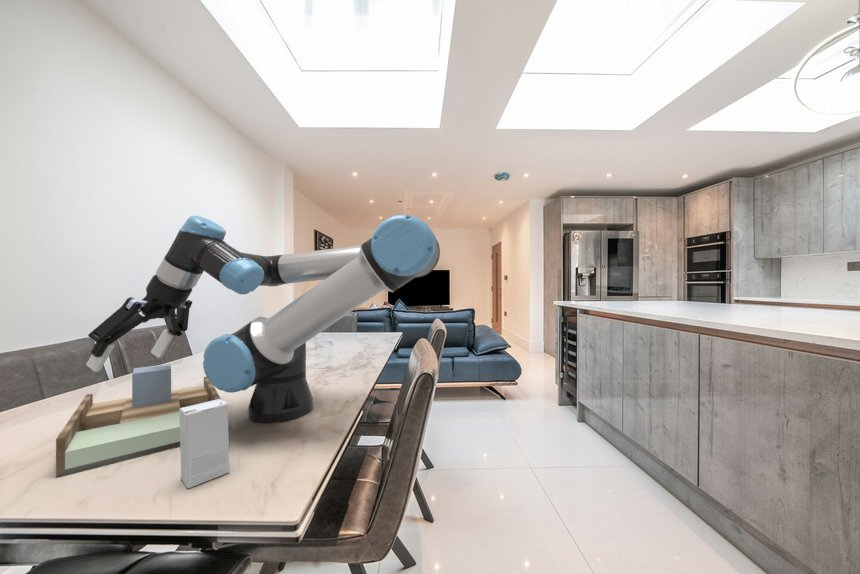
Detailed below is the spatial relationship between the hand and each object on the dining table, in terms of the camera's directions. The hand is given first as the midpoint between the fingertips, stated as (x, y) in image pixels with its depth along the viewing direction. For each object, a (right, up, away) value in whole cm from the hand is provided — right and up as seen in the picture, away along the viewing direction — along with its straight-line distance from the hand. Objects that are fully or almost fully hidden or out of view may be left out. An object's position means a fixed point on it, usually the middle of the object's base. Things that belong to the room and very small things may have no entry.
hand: (127, 361), depth 73 cm
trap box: (+5, -15, +1) cm, 16 cm away
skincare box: (+30, -15, -19) cm, 39 cm away
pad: (+11, -15, -7) cm, 20 cm away
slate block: (0, -11, +7) cm, 13 cm away
